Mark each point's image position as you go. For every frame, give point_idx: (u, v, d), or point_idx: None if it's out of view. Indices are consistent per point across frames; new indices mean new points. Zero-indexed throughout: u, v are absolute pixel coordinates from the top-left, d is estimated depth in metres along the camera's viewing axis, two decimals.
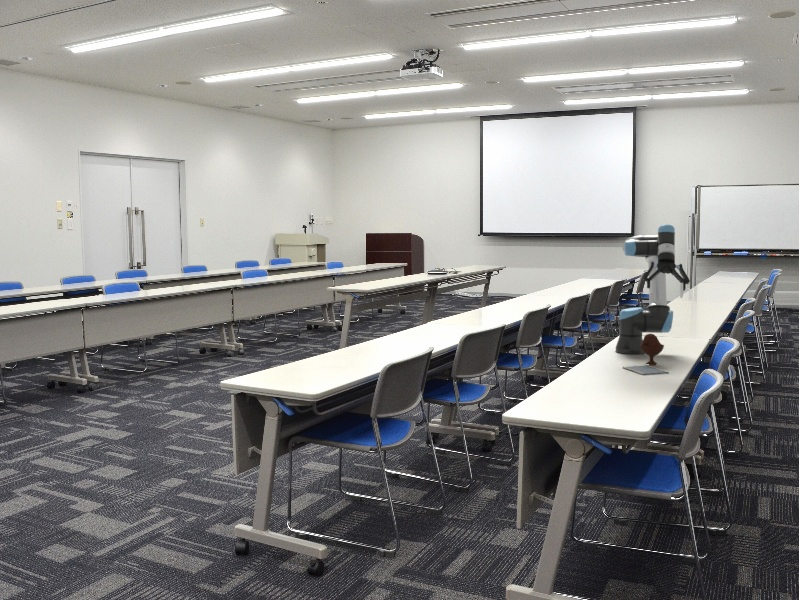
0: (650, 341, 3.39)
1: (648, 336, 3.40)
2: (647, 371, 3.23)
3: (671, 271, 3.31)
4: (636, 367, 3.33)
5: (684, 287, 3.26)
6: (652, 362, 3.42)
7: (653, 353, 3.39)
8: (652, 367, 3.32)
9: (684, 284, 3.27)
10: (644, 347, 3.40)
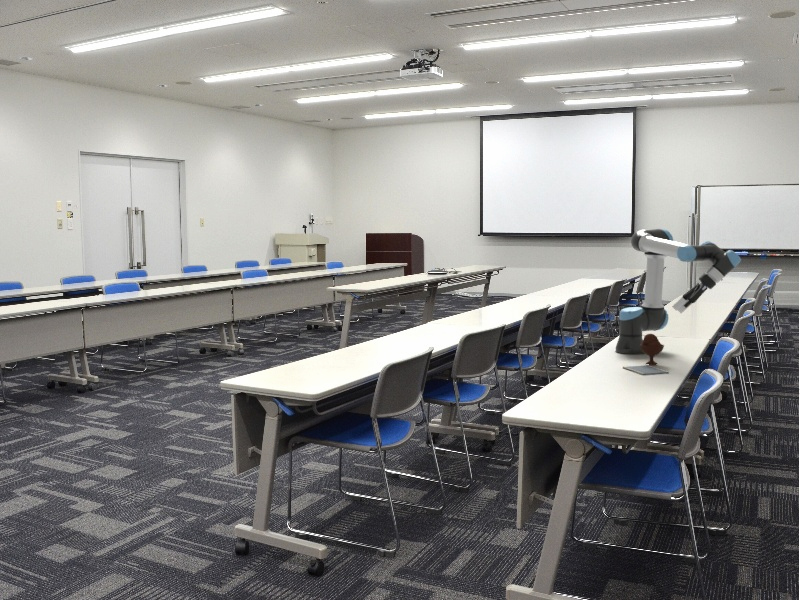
0: (650, 341, 3.39)
1: (648, 336, 3.40)
2: (647, 371, 3.23)
3: None
4: (636, 367, 3.33)
5: None
6: (652, 362, 3.42)
7: (653, 353, 3.39)
8: (652, 367, 3.32)
9: None
10: (644, 347, 3.40)
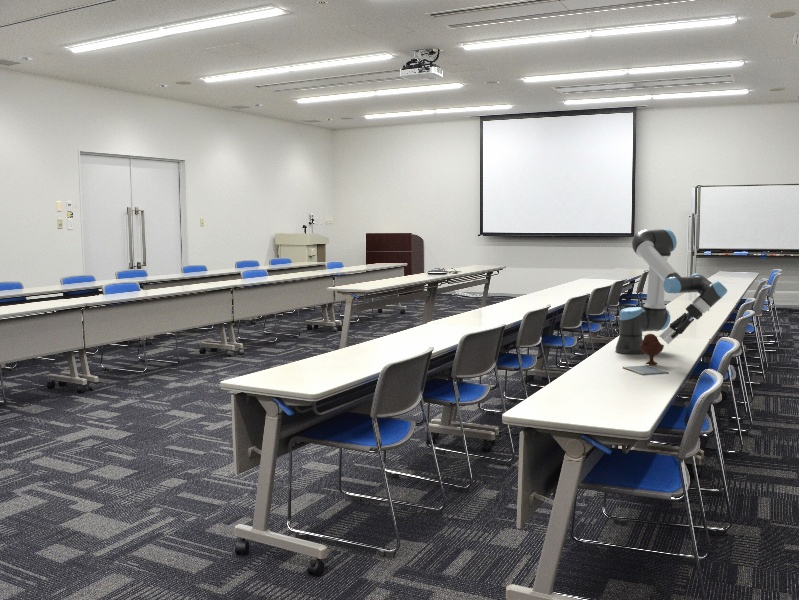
0: (650, 341, 3.39)
1: (648, 336, 3.40)
2: (647, 371, 3.23)
3: None
4: (636, 367, 3.33)
5: None
6: (652, 362, 3.42)
7: (653, 353, 3.39)
8: (652, 367, 3.32)
9: None
10: (644, 347, 3.40)
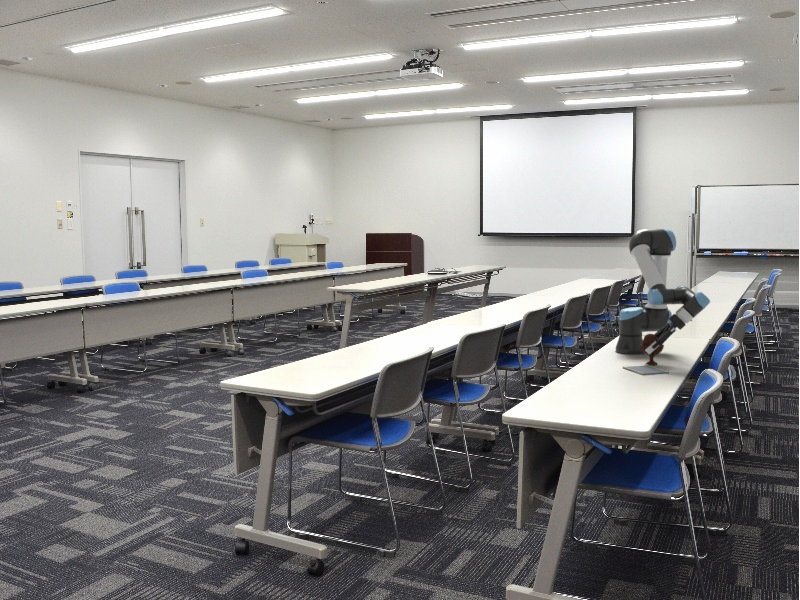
0: (650, 341, 3.39)
1: (648, 336, 3.40)
2: (647, 371, 3.23)
3: None
4: (636, 367, 3.33)
5: None
6: (652, 362, 3.42)
7: (653, 353, 3.39)
8: (652, 367, 3.32)
9: None
10: (644, 347, 3.40)
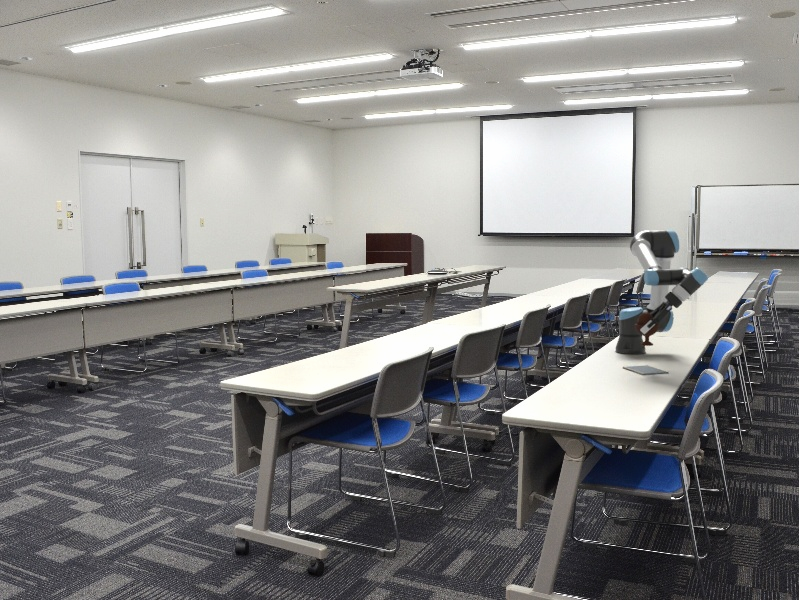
0: (645, 320, 3.23)
1: (643, 315, 3.24)
2: (647, 371, 3.23)
3: None
4: (636, 367, 3.33)
5: None
6: (647, 342, 3.26)
7: (648, 333, 3.23)
8: (652, 367, 3.32)
9: None
10: (639, 327, 3.24)
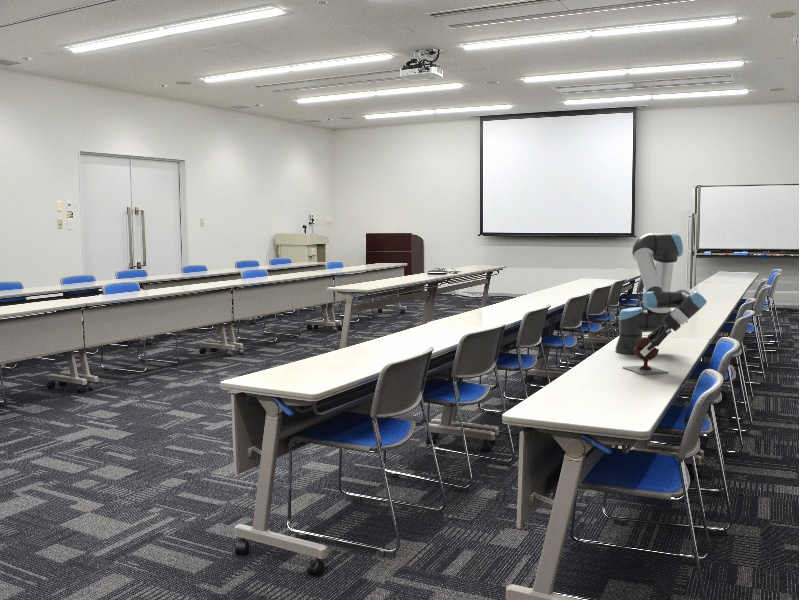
0: (644, 345, 3.24)
1: (642, 340, 3.25)
2: (647, 371, 3.23)
3: None
4: (636, 367, 3.33)
5: None
6: (646, 367, 3.27)
7: (647, 358, 3.24)
8: (652, 367, 3.32)
9: None
10: (638, 351, 3.25)
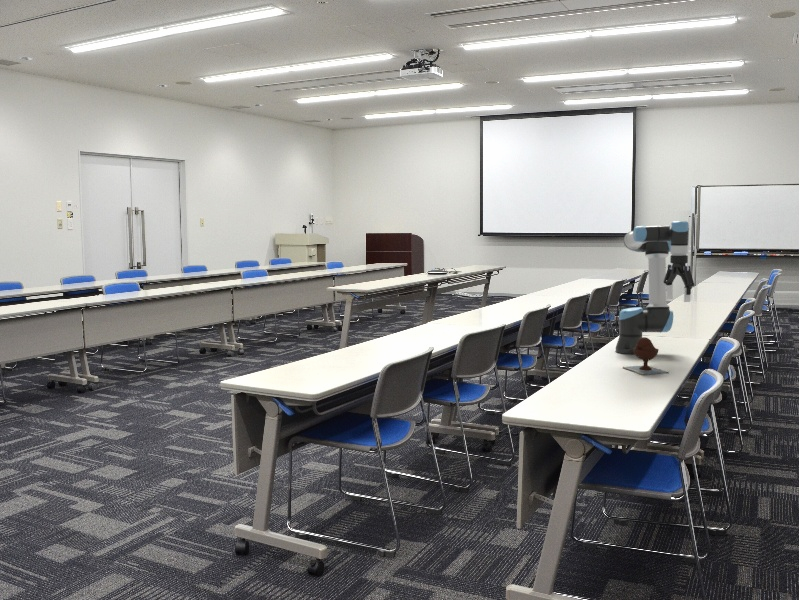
0: (644, 345, 3.24)
1: (642, 340, 3.25)
2: (647, 371, 3.23)
3: None
4: (636, 367, 3.33)
5: None
6: (646, 367, 3.27)
7: (647, 358, 3.24)
8: (652, 367, 3.32)
9: None
10: (638, 351, 3.25)
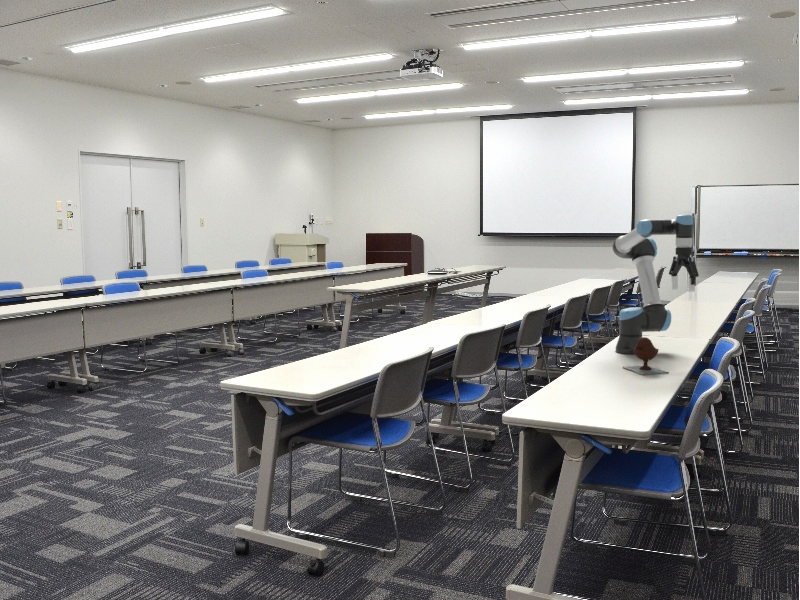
0: (644, 345, 3.24)
1: (642, 340, 3.25)
2: (647, 371, 3.23)
3: None
4: (636, 367, 3.33)
5: None
6: (646, 367, 3.27)
7: (647, 358, 3.24)
8: (652, 367, 3.32)
9: None
10: (637, 351, 3.25)
